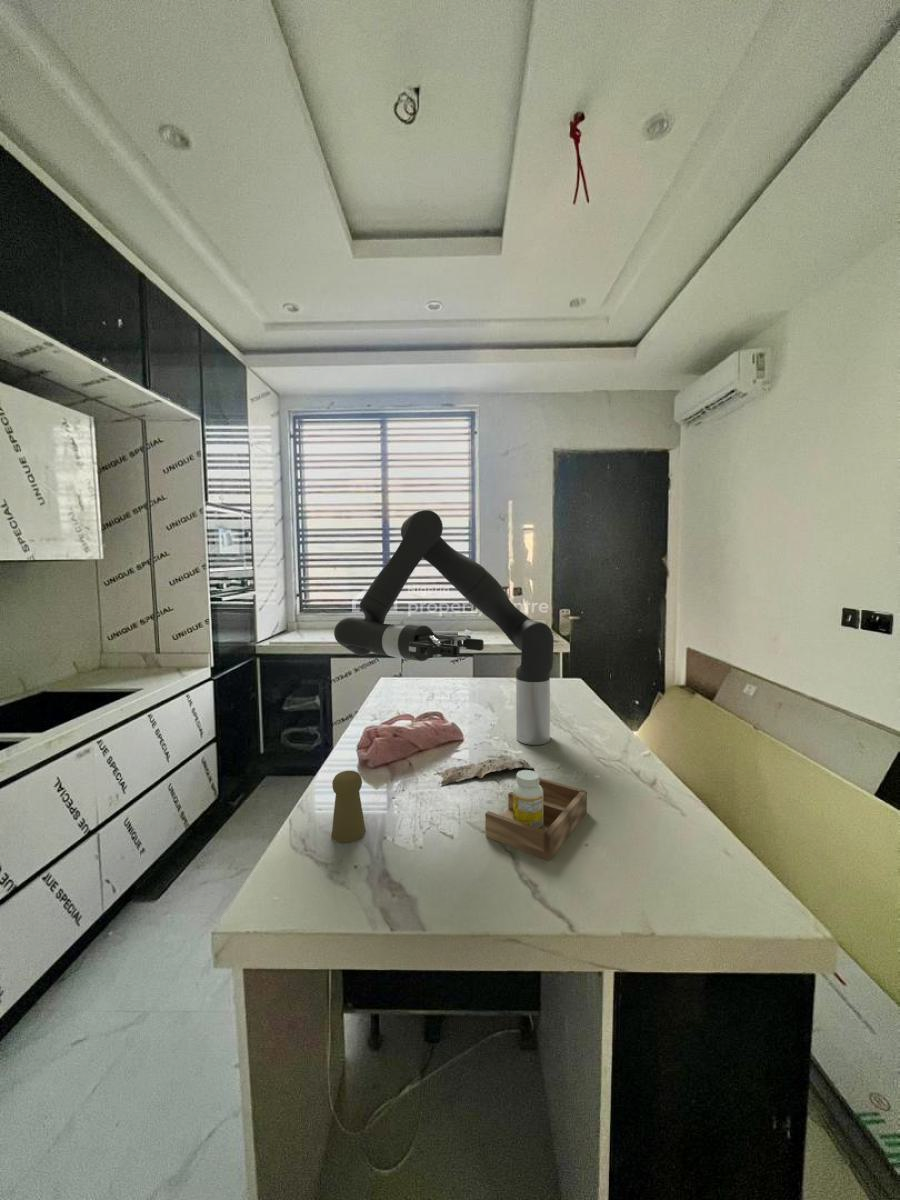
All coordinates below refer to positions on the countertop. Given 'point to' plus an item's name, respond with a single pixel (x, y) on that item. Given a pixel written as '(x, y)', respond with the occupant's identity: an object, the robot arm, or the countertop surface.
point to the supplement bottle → (528, 799)
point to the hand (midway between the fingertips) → (471, 648)
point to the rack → (558, 821)
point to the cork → (347, 808)
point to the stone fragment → (480, 769)
